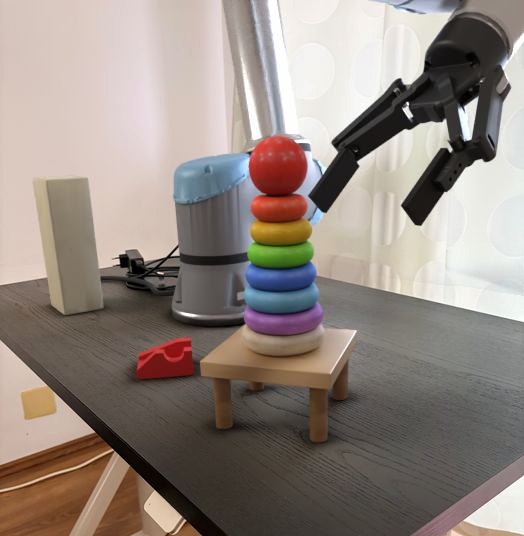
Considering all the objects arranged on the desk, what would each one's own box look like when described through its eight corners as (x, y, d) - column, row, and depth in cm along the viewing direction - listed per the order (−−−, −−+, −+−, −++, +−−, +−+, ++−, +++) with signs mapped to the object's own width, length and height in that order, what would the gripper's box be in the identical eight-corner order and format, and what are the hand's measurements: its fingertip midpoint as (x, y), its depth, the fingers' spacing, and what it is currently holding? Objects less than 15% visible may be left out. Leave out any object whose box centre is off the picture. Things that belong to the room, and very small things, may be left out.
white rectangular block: (109, 307, 97) (92, 176, 90) (65, 316, 93) (43, 179, 86) (93, 298, 103) (76, 174, 96) (51, 305, 100) (30, 177, 92)
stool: (205, 430, 55) (199, 361, 53) (249, 381, 66) (246, 322, 63) (330, 447, 51) (330, 373, 49) (356, 393, 62) (357, 329, 59)
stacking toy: (230, 338, 58) (218, 138, 52) (303, 326, 61) (300, 135, 54) (259, 364, 51) (250, 137, 45) (340, 350, 54) (342, 133, 47)
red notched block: (192, 360, 73) (190, 337, 72) (193, 374, 68) (191, 350, 67) (140, 364, 72) (137, 341, 71) (137, 379, 67) (134, 355, 66)
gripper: (609, 59, 52) (481, 250, 49) (403, 85, 72) (305, 222, 69) (584, -16, 47) (442, 190, 45) (372, 34, 67) (266, 178, 65)
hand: (359, 210), depth 57 cm, fingers open, 13 cm apart
